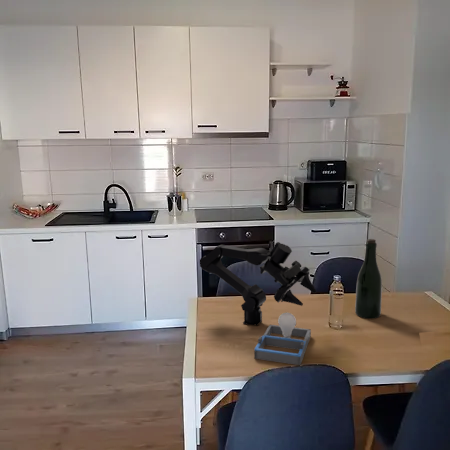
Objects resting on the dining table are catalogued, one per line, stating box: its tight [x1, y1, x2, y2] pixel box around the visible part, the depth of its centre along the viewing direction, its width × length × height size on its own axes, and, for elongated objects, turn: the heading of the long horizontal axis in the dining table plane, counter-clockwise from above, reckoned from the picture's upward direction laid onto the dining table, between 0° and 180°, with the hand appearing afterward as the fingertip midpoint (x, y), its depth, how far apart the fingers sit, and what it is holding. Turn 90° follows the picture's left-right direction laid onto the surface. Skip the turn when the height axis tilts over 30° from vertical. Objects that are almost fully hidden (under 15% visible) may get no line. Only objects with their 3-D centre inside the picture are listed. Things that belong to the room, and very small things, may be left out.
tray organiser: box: [253, 324, 312, 366], centre depth 166 cm, size 16×23×5 cm
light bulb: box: [277, 312, 297, 339], centre depth 170 cm, size 7×7×11 cm
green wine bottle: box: [354, 238, 383, 320], centre depth 191 cm, size 10×10×33 cm
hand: (309, 298), depth 173 cm, fingers open, 9 cm apart
